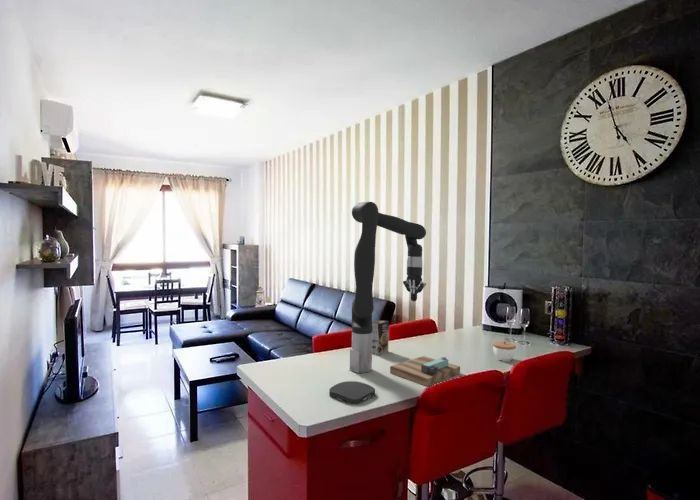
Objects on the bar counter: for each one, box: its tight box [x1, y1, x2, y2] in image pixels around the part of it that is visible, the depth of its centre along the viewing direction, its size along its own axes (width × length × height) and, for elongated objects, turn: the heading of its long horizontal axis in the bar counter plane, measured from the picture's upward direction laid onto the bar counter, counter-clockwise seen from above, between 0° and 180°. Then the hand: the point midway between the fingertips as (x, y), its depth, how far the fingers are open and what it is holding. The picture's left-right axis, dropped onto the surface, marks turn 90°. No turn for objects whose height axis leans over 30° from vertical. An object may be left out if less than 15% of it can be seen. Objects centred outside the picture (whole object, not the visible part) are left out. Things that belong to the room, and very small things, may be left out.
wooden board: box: [389, 355, 461, 387], centre depth 171 cm, size 24×20×6 cm
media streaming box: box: [328, 380, 376, 405], centre depth 146 cm, size 15×15×3 cm
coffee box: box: [372, 319, 390, 356], centre depth 202 cm, size 9×6×16 cm
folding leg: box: [421, 356, 449, 374], centre depth 168 cm, size 16×3×4 cm, turn 132°
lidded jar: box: [492, 340, 517, 362], centre depth 193 cm, size 11×11×9 cm
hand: (413, 300), depth 190 cm, fingers closed
